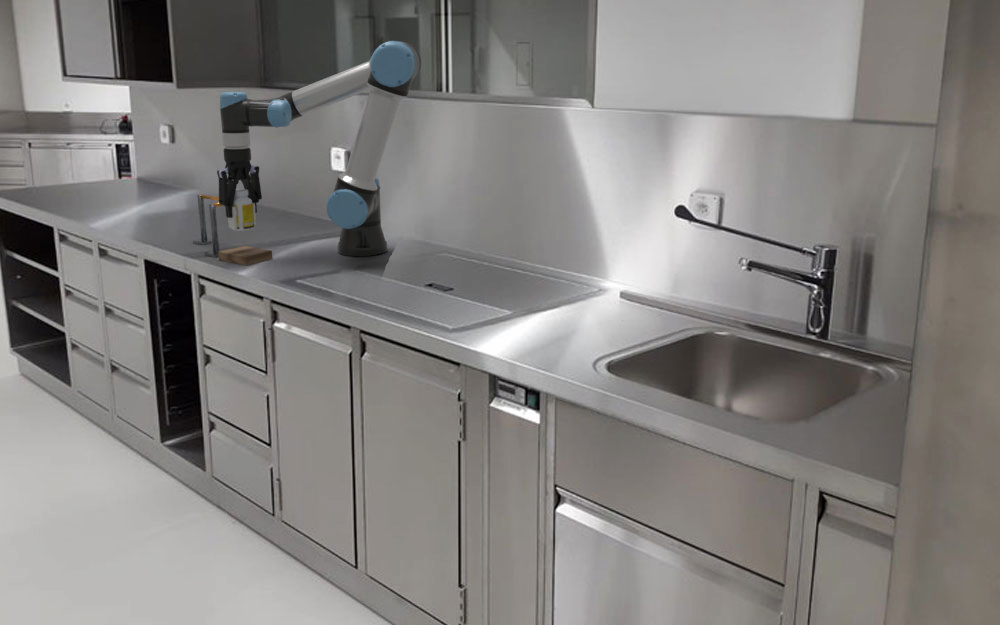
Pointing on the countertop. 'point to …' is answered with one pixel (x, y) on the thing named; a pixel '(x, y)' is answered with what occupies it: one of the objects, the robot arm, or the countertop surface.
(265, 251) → the pad
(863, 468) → the countertop surface
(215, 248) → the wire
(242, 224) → the pill bottle
